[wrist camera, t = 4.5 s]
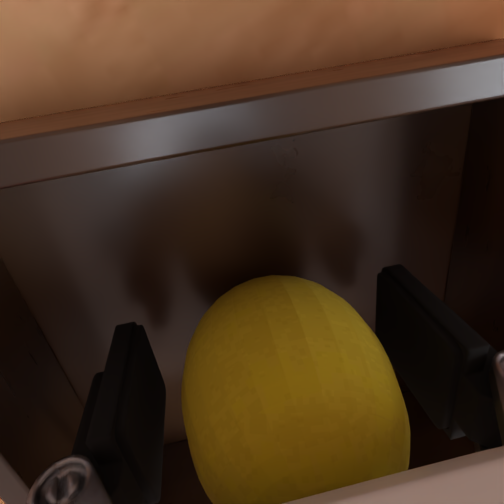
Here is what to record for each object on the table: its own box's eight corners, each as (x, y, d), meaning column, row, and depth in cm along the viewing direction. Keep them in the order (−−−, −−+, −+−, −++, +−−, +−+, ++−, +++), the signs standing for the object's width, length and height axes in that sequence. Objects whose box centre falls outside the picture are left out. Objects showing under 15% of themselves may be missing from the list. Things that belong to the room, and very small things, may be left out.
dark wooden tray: (498, 38, 11) (670, 25, 7) (442, 381, 18) (512, 467, 14) (-92, 137, 9) (-277, 187, 6) (100, 465, 16) (76, 586, 13)
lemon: (193, 368, 14) (201, 665, 7) (171, 242, 12) (152, 515, 5) (327, 347, 15) (455, 599, 8) (335, 224, 12) (537, 437, 5)
